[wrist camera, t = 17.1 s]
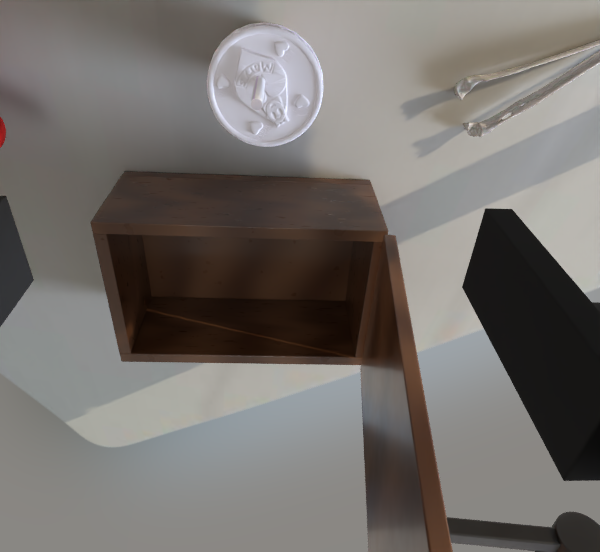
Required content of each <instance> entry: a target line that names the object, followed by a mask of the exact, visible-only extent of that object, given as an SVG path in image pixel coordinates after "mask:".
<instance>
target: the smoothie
mask: <svg viewBox="0 0 600 552" xmlns="http://www.w3.org/2000/svg"><path fill="white" fill-rule="evenodd" d="M207 94H208V99H209V103H210V106H211V108H212V111H213V113H214V115H215V116H216V118H217V120H218V121H219V123H220V124H221V125H222V126H223V127H224V128H225V129H226V130H227V131H228V132H229V133H230V134H231V135H233V136H234V137H236V138H237V139H239V140H241V141H243V142H245V143H248V144H251V145H255V146H261V147H273V146H279V145H283V144H286V143H288V142H290V141H293V140H294V139H296V138H298V137H299V136H300V135H302V134H303V133H304V132H305V131H306V130H307V129H308V128H309V127H310V126H311V124H312V123H313V121H314V120H315V118H316V116H317V114H318V112H319V109H320V106H321V103H322V97H323V73H322V70H321V67H320V64H319V61H318V58H317V56H316V54H315V53H314V51H313V50H312V48H311V47H310V45H309V44H308V43H307V42H306V41H305V40H304V39H303V38H302V37H301V36H300V35H299V34H298V33H296V32H294V31H292V30H290V29H288V28H286V27H285V26H283V25H278V24H273V23H268V22H262V23H253V24H248V25H246V26H243V27H241V28H239V29H236V30H234V31H233V32H232V33H231V34H230V35H228V36H227V37H226V38H225V39H224V40H222V42H221V43H220V45H219V46H218V48H217V49H216V51H215V52H214V54H213V57H212V60H211V63H210V66H209V69H208V75H207Z"/></svg>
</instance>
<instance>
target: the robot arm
mask: <svg viewBox="0 0 600 552" xmlns="http://www.w3.org/2000/svg"><path fill="white" fill-rule="evenodd" d="M33 280H34V279H33V276H32V273H31V270H30V267H29V264H28V261H27V258H26V255H25V252H24V249H23V246H22V243H21V240H20V237H19V234H18V231H17V228H16V225H15V221H14V218H13V215H12V212H11V209H10V206H9V203H8V200H7V197H6V196H0V327H1V325H2V324H3V322H4V321H5V320H6V318H7V317H8V315H9V314H10V313H11V311H12V310H13V308H14V307H15V306H16V304H17V303H18V301H19V300H20V299H21V297H22V296H23V294H24V293H25V292H26V290H27V289H28V287H29V286H30V285H31V283H32V282H33ZM462 288H463V289H464V291H465V293H466V295H467V297H468V299H469V301H470V303H471V305H472V307H473V309H474V310H475V312H476V314H477V316H478V318H479V320H480V322H481V324H482V326H483V328H484V330H485V331H486V333H487V335H488V337H489V339H490V341H491V343H492V345H493V347H494V349H495V350H496V352H497V354H498V356H499V358H500V360H501V362H502V364H503V366H504V368H505V370H506V371H507V373H508V375H509V377H510V379H511V381H512V383H513V385H514V387H515V389H516V391H517V392H518V394H519V396H520V398H521V400H522V402H523V404H524V406H525V408H526V410H527V411H528V413H529V415H530V417H531V419H532V421H533V423H534V425H535V427H536V429H537V431H538V432H539V434H540V436H541V438H542V440H543V442H544V444H545V446H546V448H547V450H548V451H549V453H550V455H551V457H552V459H553V461H554V463H555V465H556V467H557V469H558V471H559V472H560V474H561V476H562V478H563V480H564V481H566V480H567V481H568V480H569V481H574V480H577V481H580V480H600V303H592V302H591V301H590V300H589V299H588V298H587V296H586V295H585V294H584V293H583V292H582V291H581V289H580V288H579V287H578V286H577V285H576V284H575V282H574V281H573V280H572V279H571V278H570V277H569V275H568V274H567V273H566V272H565V271H564V270H563V268H562V267H561V266H560V265H559V264H558V263H557V261H556V260H555V259H554V258H553V257H552V256H551V254H550V253H549V252H548V251H547V250H546V248H545V247H544V246H543V245H542V244H541V243H540V241H539V240H538V239H537V238H536V237H535V236H534V234H533V233H532V232H531V231H530V230H529V229H528V227H527V226H526V225H525V224H524V223H523V222H522V220H521V219H520V218H519V217H518V216H517V215H516V213H515V212H514V211H513V210H512V209H485V212H484V215H483V219H482V222H481V226H480V229H479V232H478V236H477V239H476V242H475V246H474V249H473V253H472V256H471V259H470V263H469V266H468V269H467V273H466V276H465V280H464V283H463V286H462Z"/></svg>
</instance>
